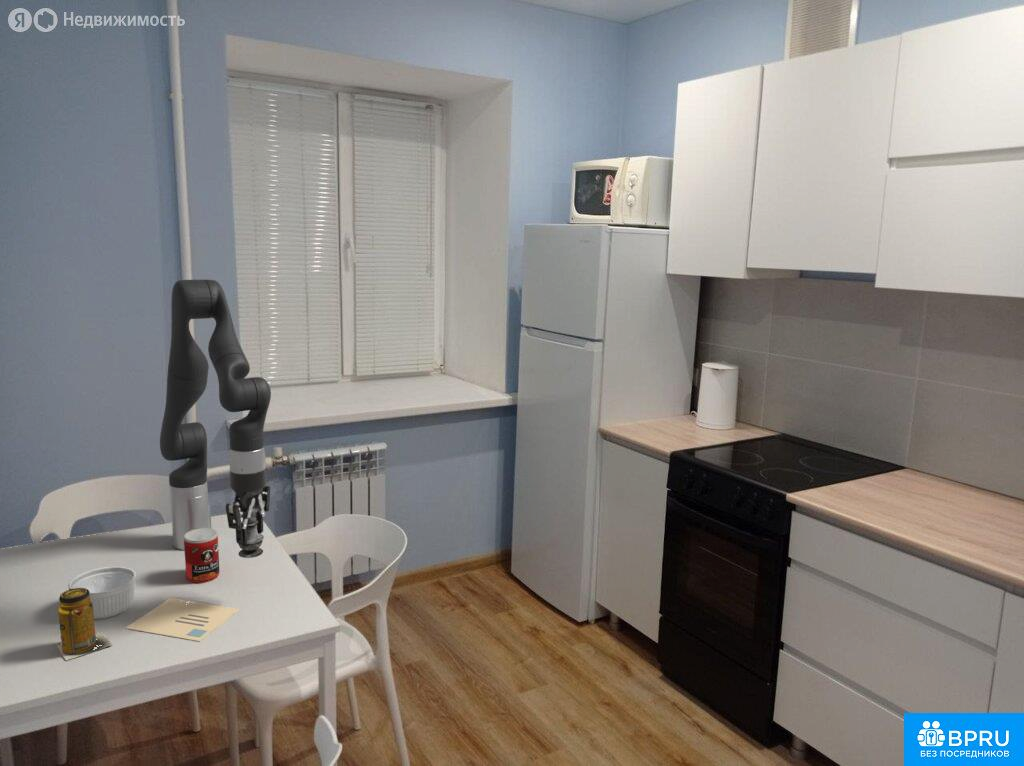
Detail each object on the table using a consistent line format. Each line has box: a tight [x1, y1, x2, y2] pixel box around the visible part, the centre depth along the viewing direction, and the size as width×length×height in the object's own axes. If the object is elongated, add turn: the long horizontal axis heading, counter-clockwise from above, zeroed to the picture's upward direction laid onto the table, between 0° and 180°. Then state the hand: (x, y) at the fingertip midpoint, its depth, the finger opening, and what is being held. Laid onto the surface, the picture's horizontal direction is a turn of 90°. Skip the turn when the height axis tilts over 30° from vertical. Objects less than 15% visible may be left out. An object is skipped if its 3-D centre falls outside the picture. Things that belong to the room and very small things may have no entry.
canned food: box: [184, 528, 220, 584], centre depth 184 cm, size 8×8×11 cm
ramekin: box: [68, 566, 137, 620], centre depth 168 cm, size 13×13×7 cm
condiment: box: [56, 588, 113, 661], centre depth 152 cm, size 7×8×12 cm
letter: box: [125, 597, 240, 642], centre depth 164 cm, size 14×18×1 cm
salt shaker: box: [237, 508, 265, 559], centre depth 169 cm, size 6×6×12 cm
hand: (250, 537), depth 170 cm, fingers closed on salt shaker, 6 cm apart
